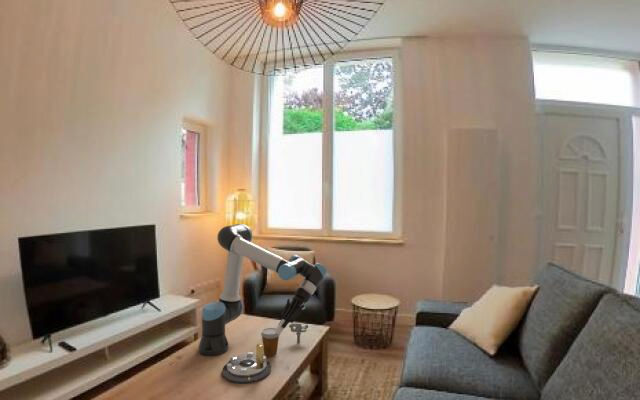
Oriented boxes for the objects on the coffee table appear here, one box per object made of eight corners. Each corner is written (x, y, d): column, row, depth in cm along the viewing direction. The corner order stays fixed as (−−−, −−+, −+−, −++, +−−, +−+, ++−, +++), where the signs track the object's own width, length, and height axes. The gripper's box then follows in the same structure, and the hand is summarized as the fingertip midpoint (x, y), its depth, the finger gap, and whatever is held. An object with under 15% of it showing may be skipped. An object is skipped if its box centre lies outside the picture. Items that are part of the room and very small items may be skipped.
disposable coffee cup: (283, 354, 192) (283, 331, 191) (268, 360, 185) (269, 336, 184) (271, 348, 198) (271, 326, 198) (257, 354, 191) (257, 331, 191)
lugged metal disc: (218, 370, 170) (218, 344, 170) (244, 355, 186) (244, 331, 185) (249, 381, 161) (249, 353, 161) (274, 364, 177) (274, 339, 176)
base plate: (214, 369, 175) (214, 365, 175) (255, 356, 189) (255, 352, 189) (236, 389, 158) (236, 384, 158) (280, 372, 172) (280, 368, 172)
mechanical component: (307, 343, 205) (307, 325, 205) (288, 343, 205) (289, 325, 205) (307, 341, 208) (308, 323, 207) (289, 341, 208) (289, 323, 208)
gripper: (318, 298, 182) (289, 341, 172) (301, 292, 192) (273, 333, 182) (309, 289, 179) (280, 333, 168) (293, 284, 188) (264, 324, 178)
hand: (277, 332), depth 175 cm, fingers closed
